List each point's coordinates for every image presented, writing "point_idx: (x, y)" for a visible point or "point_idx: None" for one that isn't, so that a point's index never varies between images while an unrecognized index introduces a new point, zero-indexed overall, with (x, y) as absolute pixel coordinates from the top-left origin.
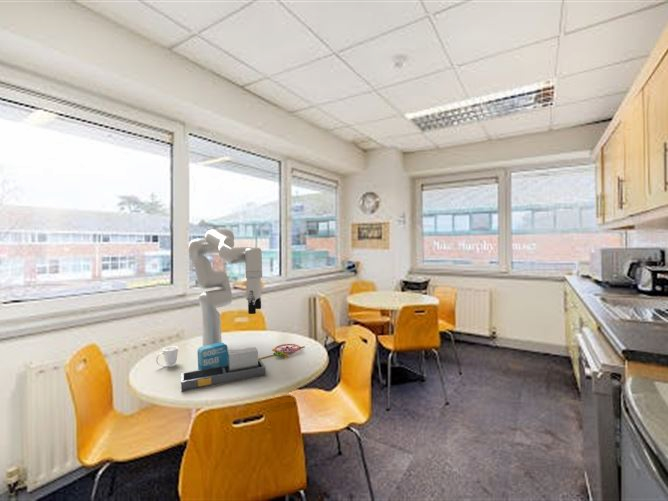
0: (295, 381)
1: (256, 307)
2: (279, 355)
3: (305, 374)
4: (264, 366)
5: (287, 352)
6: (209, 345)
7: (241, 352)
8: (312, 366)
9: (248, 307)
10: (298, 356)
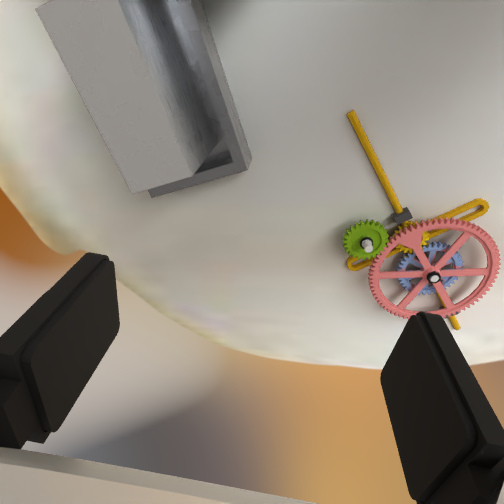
0: (123, 277)
1: (406, 352)
2: (344, 240)
3: (175, 306)
4: (161, 193)
5: (372, 272)
6: None
7: (92, 96)
8: (238, 329)
9: (26, 318)
10: (348, 299)
